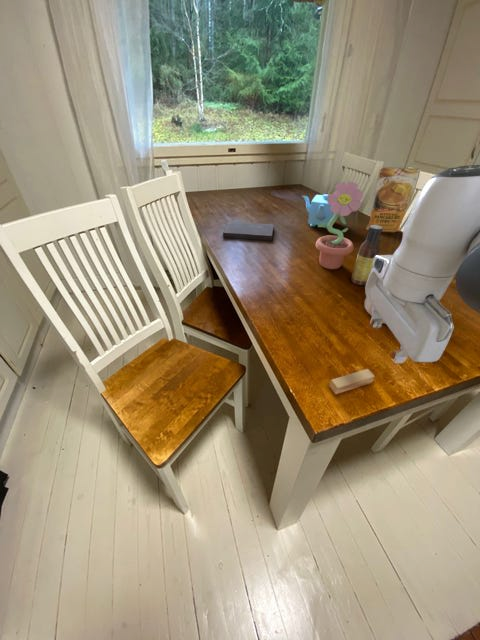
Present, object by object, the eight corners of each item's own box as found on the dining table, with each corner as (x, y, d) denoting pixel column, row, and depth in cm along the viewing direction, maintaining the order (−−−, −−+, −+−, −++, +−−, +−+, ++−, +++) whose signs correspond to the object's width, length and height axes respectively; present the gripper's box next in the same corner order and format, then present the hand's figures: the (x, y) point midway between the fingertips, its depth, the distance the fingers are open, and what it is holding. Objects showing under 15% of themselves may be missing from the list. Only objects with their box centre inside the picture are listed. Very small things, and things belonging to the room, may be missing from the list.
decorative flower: (304, 267, 107) (319, 184, 88) (314, 254, 116) (329, 176, 97) (343, 276, 101) (368, 190, 82) (350, 261, 111) (374, 181, 92)
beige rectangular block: (364, 375, 65) (367, 368, 63) (371, 382, 63) (375, 376, 62) (328, 386, 62) (331, 379, 61) (335, 394, 60) (337, 387, 59)
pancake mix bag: (360, 226, 142) (378, 166, 125) (398, 228, 141) (421, 167, 124) (363, 231, 137) (382, 169, 120) (403, 233, 136) (427, 170, 118)
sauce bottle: (371, 286, 96) (391, 231, 84) (353, 286, 96) (370, 230, 84) (364, 277, 101) (382, 223, 89) (347, 276, 101) (363, 223, 89)
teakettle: (324, 217, 154) (330, 188, 145) (346, 228, 140) (354, 197, 131) (295, 221, 148) (299, 192, 139) (316, 233, 135) (321, 202, 125)
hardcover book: (229, 225, 141) (229, 221, 140) (273, 228, 139) (273, 224, 137) (223, 237, 129) (222, 232, 128) (271, 241, 126) (271, 236, 125)
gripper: (481, 320, 36) (432, 385, 44) (403, 252, 52) (378, 310, 60) (434, 320, 35) (394, 386, 44) (370, 252, 51) (350, 310, 60)
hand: (385, 342), depth 52 cm, fingers open, 8 cm apart
